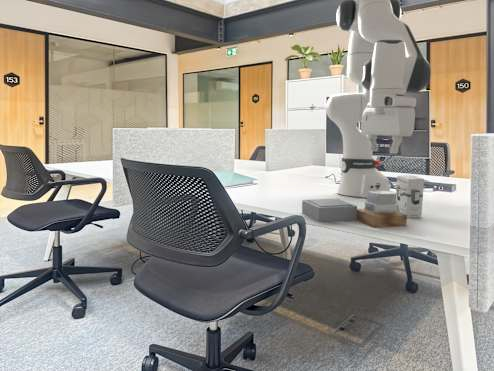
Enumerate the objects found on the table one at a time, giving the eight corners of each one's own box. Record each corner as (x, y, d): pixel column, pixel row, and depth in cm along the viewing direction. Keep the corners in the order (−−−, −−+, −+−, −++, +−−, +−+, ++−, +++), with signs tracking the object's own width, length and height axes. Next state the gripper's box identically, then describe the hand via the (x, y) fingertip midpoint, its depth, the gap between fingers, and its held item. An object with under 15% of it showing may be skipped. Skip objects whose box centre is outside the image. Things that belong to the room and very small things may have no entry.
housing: (386, 209, 119) (387, 190, 118) (396, 213, 114) (397, 193, 113) (364, 210, 117) (365, 191, 116) (374, 214, 112) (375, 194, 112)
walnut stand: (385, 217, 122) (385, 207, 122) (406, 225, 112) (407, 214, 112) (354, 218, 119) (355, 208, 119) (373, 227, 110) (374, 216, 109)
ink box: (393, 211, 130) (396, 174, 128) (408, 211, 131) (411, 174, 129) (405, 218, 122) (408, 178, 120) (422, 218, 122) (425, 178, 120)
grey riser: (337, 211, 130) (338, 197, 129) (356, 219, 119) (357, 205, 118) (301, 212, 127) (302, 199, 126) (318, 221, 116) (318, 206, 115)
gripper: (356, 102, 120) (354, 150, 122) (398, 98, 101) (395, 154, 103) (375, 103, 122) (373, 150, 124) (421, 99, 102) (417, 154, 104)
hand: (383, 152), depth 113 cm, fingers open, 8 cm apart
